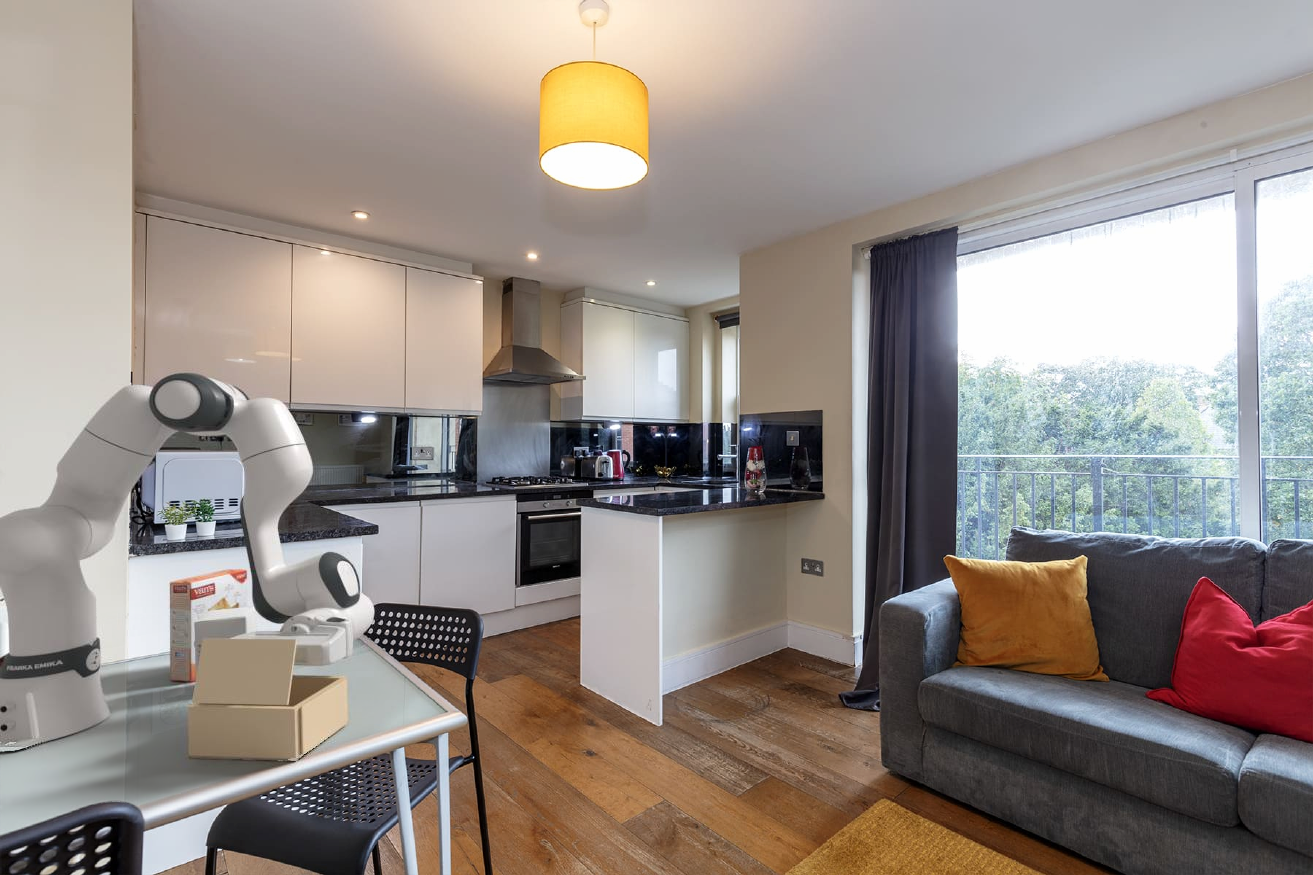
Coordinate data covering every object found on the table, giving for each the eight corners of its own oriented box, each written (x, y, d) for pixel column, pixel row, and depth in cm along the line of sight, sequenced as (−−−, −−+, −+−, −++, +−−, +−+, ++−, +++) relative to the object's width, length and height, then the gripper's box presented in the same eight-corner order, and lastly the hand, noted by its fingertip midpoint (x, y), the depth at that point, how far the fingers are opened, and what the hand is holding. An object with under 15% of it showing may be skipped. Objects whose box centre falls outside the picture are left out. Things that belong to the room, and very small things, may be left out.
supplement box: (208, 682, 127) (206, 610, 128) (259, 675, 131) (257, 604, 131) (194, 698, 119) (192, 621, 119) (248, 690, 122) (246, 615, 123)
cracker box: (192, 683, 127) (190, 582, 127) (168, 681, 128) (166, 581, 129) (250, 659, 141) (248, 568, 141) (228, 658, 142) (226, 568, 142)
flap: (191, 702, 95) (202, 638, 97) (193, 702, 95) (204, 638, 98) (287, 704, 93) (295, 639, 96) (288, 704, 93) (297, 639, 96)
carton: (185, 757, 95) (184, 706, 96) (252, 719, 109) (251, 673, 109) (298, 761, 93) (297, 708, 93) (352, 721, 107) (351, 675, 107)
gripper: (253, 619, 111) (186, 644, 97) (359, 619, 109) (306, 645, 95) (254, 654, 111) (187, 684, 97) (360, 655, 109) (307, 686, 95)
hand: (247, 665), depth 96 cm, fingers closed
